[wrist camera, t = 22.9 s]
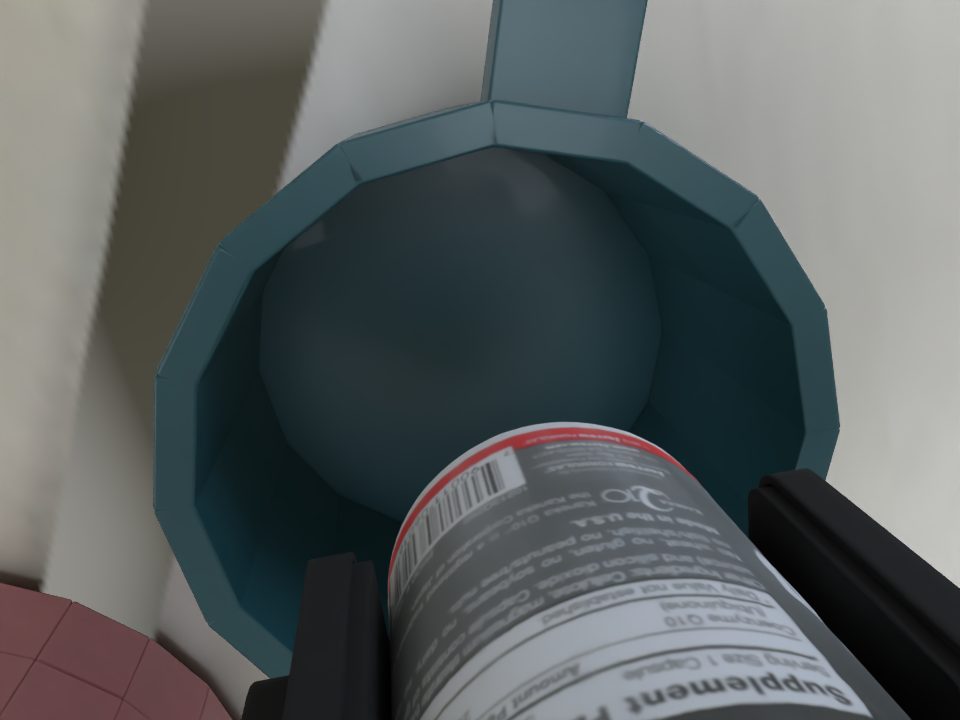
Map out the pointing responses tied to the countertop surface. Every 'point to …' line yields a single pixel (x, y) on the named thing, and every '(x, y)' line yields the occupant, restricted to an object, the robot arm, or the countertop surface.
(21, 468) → the countertop surface
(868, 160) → the countertop surface
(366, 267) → the pot
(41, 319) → the countertop surface
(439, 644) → the pill bottle
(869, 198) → the countertop surface
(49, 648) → the bowl
